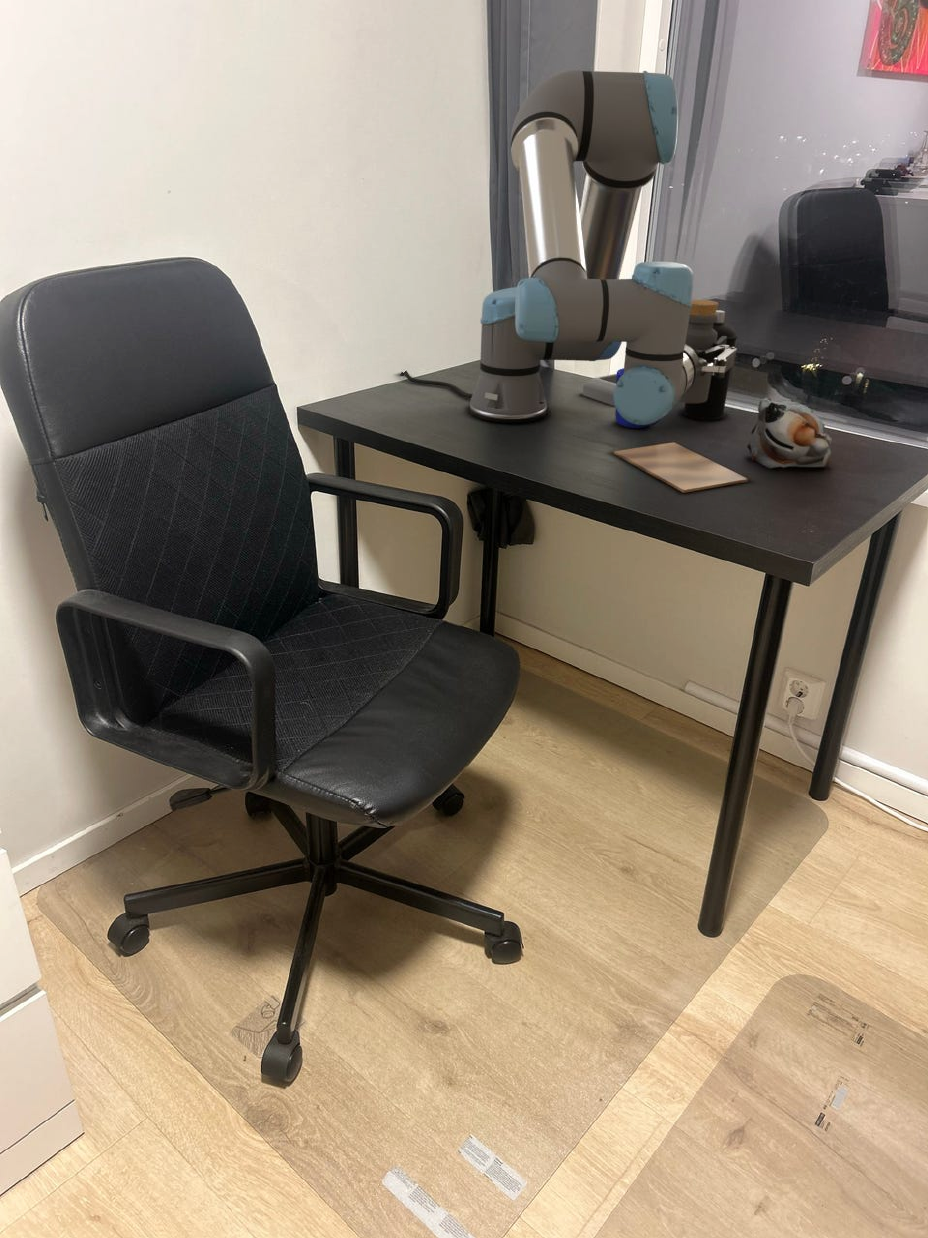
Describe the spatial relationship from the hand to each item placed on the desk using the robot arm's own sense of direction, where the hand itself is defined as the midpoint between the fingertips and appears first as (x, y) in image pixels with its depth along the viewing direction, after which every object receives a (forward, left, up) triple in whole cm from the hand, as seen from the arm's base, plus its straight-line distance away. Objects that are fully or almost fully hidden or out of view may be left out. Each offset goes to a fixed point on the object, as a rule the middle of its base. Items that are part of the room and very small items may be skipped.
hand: (703, 342), depth 143 cm
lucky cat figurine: (+8, +16, -20) cm, 27 cm away
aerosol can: (-21, +20, -20) cm, 35 cm away
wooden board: (+2, -3, -20) cm, 20 cm away
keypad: (-39, +13, -20) cm, 46 cm away
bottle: (+3, -4, -8) cm, 10 cm away
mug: (-19, +3, -20) cm, 28 cm away
